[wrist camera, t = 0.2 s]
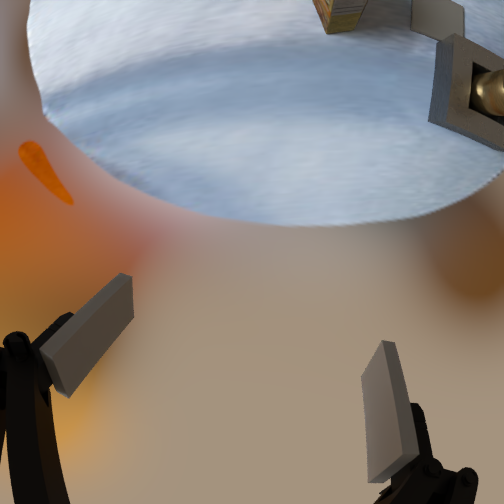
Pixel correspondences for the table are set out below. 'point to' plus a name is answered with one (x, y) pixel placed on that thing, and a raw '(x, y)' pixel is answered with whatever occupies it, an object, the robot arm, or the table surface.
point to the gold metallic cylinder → (487, 93)
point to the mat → (437, 18)
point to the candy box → (339, 14)
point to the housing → (463, 91)
